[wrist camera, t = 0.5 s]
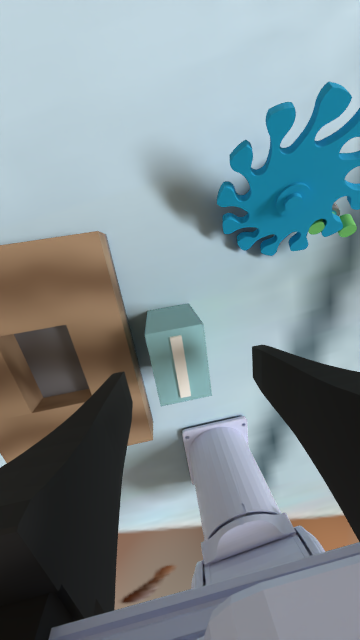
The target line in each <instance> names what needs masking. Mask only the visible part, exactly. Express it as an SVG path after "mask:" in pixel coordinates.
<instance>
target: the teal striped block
mask: <svg viewBox="0 0 360 640" xmlns="http://www.w3.org/2000/svg"><path fill="white" fill-rule="evenodd" d="M145 338H146V343H147V347H148V352H149V356H150V360H151V365H152V369H153V374H154V378H155V382H156V387H157V391H158V396H159V400H160V404H161V406H165V405H170V404H175V403H179V402H184V401H189V400H193V399H198V398H203V397H207V396H212V392H211V384H210V375H209V367H208V358H207V350H206V342H205V333H204V325H203V323H202V321H201V320H200V318H199V317H198V316H197V314H196V313H195V311H194V310H193V309H192V307H191V306H190V305H189V304H184V305H178V306H172V307H167V308H161V309H156V310H150V311H147V320H146V328H145Z"/></svg>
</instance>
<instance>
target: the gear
mask: <svg viewBox="0 0 360 640" xmlns="http://www.w3.org/2000/svg"><path fill="white" fill-rule="evenodd" d="M351 98H352V97H351V95H350V93H349V92H348V91H347V90H346V89H345V88H344V87H343V86H341V85H339V84H336V83H332V82H328V83H327V84H326V85H324V87H323V88H322V89H321V91H320V92H319V94H318V96H317V99H316V102H315V107H314V110H313V113H312V116H311V118H310V120H309V122H308V124H307V126H306V127H305V129H304V130H303V132H302V133H301V134H300V136H299V137H298V138H297V139H296V141H295V142H294V143H293V144H292V145H291V146H289V147H287V148H281V147H280V143H281V141H282V139H283V138H284V136H285V135H286V134H287V132H288V131H289V130H290V128H291V127H292V125H293V123H294V120H295V116H296V112H295V108H294V106H293V104H292V102H285V103H281V104H279V105H276V106H274V107H272V108H270V109H269V110H268V112H267V115H266V126H267V130H268V133H269V135H270V141H271V142H270V150H269V154H268V158H267V161H266V163H265V165H264V166H263V167H262V168H260V169H257V170H255V169H252V168H251V164H252V159H253V153H252V147H251V144H250V142H249V141H247V140H245V141H243V142H241V143H240V144H239V145H238V146H237V147H236V148H235V149H234V150H233V152H232V153H231V154H230V166H231V168H232V169H233V170H234V171H236V172H239V173H240V174H242V175H243V176H244V177H245V178H246V179H247V181H248V183H249V185H250V190H249V191H248V193H246V194H245V195H238V194H237V193H236V191H235V188H234V186H233V184H232V183H230V182H223V184H222V185H221V187H220V189H219V192H218V196H217V204H218V205H219V206H220V207H228V206H235V207H239V208H242V209H243V210H245V211H247V212H248V213H247V215H245V216H244V217H238V216H236V215H234V214H233V213H226V214H224V215H223V231H224V234H231V233H233V232H234V231H236V230H238V229H241V228H245V227H255V228H257V229H256V230H255V231H253V232H242V233H240V234H239V235H238V236H237V243H238V245H239V247H240V248H241V249H242V250H248V249H249V248H251V246H252V245H253V244H254V243H255V242H256V241H257V240H259V239H261V238H263V237H265V236H268V235H271V234H274V236H273V237H271V238H268V239H266V240H264V241H263V242H262V243H261V244H260V249H261V253H262V254H265V255H270V256H272V255H274V254H275V253H276V252H277V248H278V246H279V244H280V242H281V241H282V240H283V239H284V238H285V237H287V236H288V235H289V234H290V233H292V232H297V233H296V234H295V235H293V236H292V237H291V238H290V240H289V246H290V250H291V251H298V250H303V249H306V248H307V246H308V241H307V238H306V236H307V232H308V231H309V233H310V234H318V233H320V232H321V233H322V235H323V236H324V237H326V236H329V235H332V234H334V233H336V232H338V233H339V235H340V236H341V237H347V236H350V235H352V234H353V233H354V232H355V231H356V229H357V227H356V225H355V223H354V221H353V219H352V217H351V215H349V214H345V215H342V216H340V217H339V215H340V210H339V208H338V206H337V204H336V203H335V201H336V200H337V199H339V198H341V197H343V196H347V200H348V202H349V204H350V206H351V208H352V209H355V210H358V209H360V184H353V183H349V182H347V181H346V180H344V179H345V176H346V175H347V173H348V172H349V171H350V170H352V169H353V168H355V167H357V166H360V151H357V152H353V153H339V152H340V149H341V148H342V146H343V145H344V144H345V143H346V142H347V141H348V140H350V139H352V138H354V137H360V108H359V110H358V111H357V112H356V114H355V115H354V116H353V117H352V118H351V119H350V120H349V121H348V122H347V123H346V124H345V125H344V126H343V127H342V128H340V129H339V130H338V131H336V132H335V133H333V134H332V135H330V136H328V137H326V138H324V139H322V140H320V141H314V140H315V136H316V134H317V132H318V131H319V130H320V129H321V128H322V127H323V126H324V125H326V124H327V123H329V122H331V121H333V120H334V119H336V118H337V117H339V116H340V115H341V114H342V113H343V112H344V111H345V110H346V108H347V107H348V105H349V103H350V101H351Z"/></svg>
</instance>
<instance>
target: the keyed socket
mask: <svg viewBox="0 0 360 640" xmlns="http://www.w3.org/2000/svg"><path fill="white" fill-rule="evenodd" d="M123 371H124V372H125V375H126V379H127V383H128V386H129V390H130V394H131V397H132V401H133V408H132V422H131V428H130V434H129V439H128V445H127V446H129V445H133V444H138V443H142V442H146V441H151V440H153V418H152V414H151V411H150V407H149V403H148V399H147V395H146V391H145V387H144V383H143V379H142V375H141V371H140V367H139V363H138V359H137V355H136V351H135V347H134V343H133V339H132V335H131V331H130V327H129V323H128V319H127V315H126V312H125V308H124V304H123V300H122V296H121V292H120V288H119V284H118V280H117V276H116V272H115V268H114V264H113V260H112V256H111V252H110V248H109V244H108V240H107V236H106V234H103V233H101V232H99V231H95V232H89V233H82V234H75V235H68V236H61V237H55V238H48V239H41V240H34V241H27V242H21V243H14V244H7V245H0V453H1V455H2V456H3V458H4V460H5V461H6V463H9V462H10V461H12V460H13V459H15V458H16V457H18V456H19V455H21V454H22V453H23V452H25V451H26V450H28V449H29V448H30V447H32V446H33V445H35V444H36V443H37V442H39V441H40V440H41V439H43V438H44V437H45V436H47V435H48V434H50V433H51V432H52V431H53V430H55V429H56V428H57V427H58V426H59V425H61V424H62V423H63V422H64V421H65V420H67V419H68V418H69V417H70V416H71V415H72V414H73V413H75V412H76V411H77V410H78V409H79V408H80V407H81V406H82V405H83V404H84V403H85V402H86V401H87V400H88V399H89V398H90V397H91V396H92V395H93V394H94V393H95V392H96V391H97V390H98V389H99V387H100V386H101V385H102V384H103V383H104V382H105V381H106V380H107V379H108V378H109V377H110V376H111V375H112V374H113V373H118V372H123Z"/></svg>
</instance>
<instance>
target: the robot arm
mask: <svg viewBox="0 0 360 640" xmlns="http://www.w3.org/2000/svg"><path fill="white" fill-rule="evenodd" d="M252 361H253V378H254V380H255V382H256V383H257V385H258V387H259V388H260V390H261V392H262V393H263V394H264V396H265V397H266V398H267V400H268V401H269V402H270V403H271V405H272V406H273V407H274V408H275V410H276V411H277V412H278V413H279V415H280V416H281V417H282V418H283V420H284V421H285V422H286V423H287V425H288V426H289V427H290V429H291V430H292V431H293V433H294V434H295V435H296V437H297V438H298V440H299V441H300V443H301V444H302V446H303V447H304V449H305V450H306V452H307V454H308V455H309V457H310V458H311V460H312V461H313V463H314V465H315V466H316V468H317V469H318V471H319V473H320V474H321V476H322V477H323V479H324V481H325V482H326V484H327V486H328V488H329V489H330V491H331V493H332V494H333V496H334V498H335V499H336V501H337V503H338V504H339V506H340V508H341V510H342V511H343V513H344V515H345V517H346V519H347V520H348V522H349V524H350V526H351V527H352V529H353V531H354V533H355V534H356V536H357V538H358V540H359V543H355V544H351V545H348V546H344V547H341V548H337V549H334V550H330V551H326V552H325V550H324V549H323V547H322V546H321V544H320V543H319V542H318V541H317V539H316V538H315V537H314V536H313V535H312V534H311V533H309V532H308V531H306V530H305V529H304V528H303V527H302V526H297V527H294V528H293V526H292V524H291V522H290V520H289V518H288V516H287V514H286V513H282V514H281V512H280V510H279V508H278V505H277V503H276V501H275V499H274V497H273V495H272V493H271V491H270V489H269V487H268V485H267V483H266V481H265V479H264V477H263V475H262V473H261V471H260V469H259V467H258V465H257V463H256V461H255V459H254V457H253V455H252V453H251V451H250V449H249V447H248V428H247V419H246V417H244V416H241V417H237V418H232V419H228V420H223V421H219V422H214V423H210V424H205V425H201V426H196V427H192V428H187V429H184V430H183V431H182V436H183V441H184V446H185V451H186V457H187V462H188V467H189V472H190V477H191V482H192V484H194V485H195V489H196V494H197V500H198V506H199V511H200V517H201V523H202V528H203V534H204V540H205V541H204V542H202V543H201V548H202V554H203V561H199V562H198V563H197V564H196V568H195V572H194V575H193V579H192V589H190V590H186V591H182V592H179V593H175V594H172V595H168V596H164V597H161V598H158V599H154V600H150V601H146V602H143V603H139V604H136V605H132V606H128V607H125V608H121V609H118V610H114V604H115V578H116V557H117V539H118V524H119V510H120V497H121V486H122V475H123V468H124V461H125V456H126V450H127V445H128V439H129V434H130V428H131V422H132V408H133V401H132V397H131V394H130V390H129V386H128V383H127V379H126V375H125V372H124V371H123V372H118V373H113V374H112V375H111V376H110V377H109V378H108V379H107V380H106V381H105V382H104V383H103V384H102V385H101V386H100V387H99V389H98V390H97V391H96V392H95V393H94V394H93V395H92V396H91V397H90V398H89V399H88V400H87V401H86V402H85V403H84V404H83V405H82V406H81V407H80V408H79V409H78V410H77V411H76V412H75V413H73V414H72V415H71V416H70V417H69V418H68V419H67V420H65V421H64V422H63V423H62V424H61V425H59V426H58V427H57V428H56V429H55V430H53V431H52V432H51V433H50V434H48V435H47V436H45V437H44V438H43V439H41V440H40V441H39V442H37V443H36V444H35V445H33V446H32V447H30V448H29V449H28V450H26V451H25V452H23V453H22V454H21V455H19V456H18V457H16V458H15V459H13V460H12V461H10V462H9V463H7V464H5V465H4V466H2V467H1V468H0V640H360V372H356V371H351V370H346V369H342V368H338V367H334V366H329V365H326V364H322V363H319V362H315V361H312V360H308V359H305V358H302V357H299V356H296V355H293V354H290V353H287V352H284V351H282V350H279V349H276V348H273V347H270V346H266V345H258V346H253V347H252ZM186 436H187V437H186Z"/></svg>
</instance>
